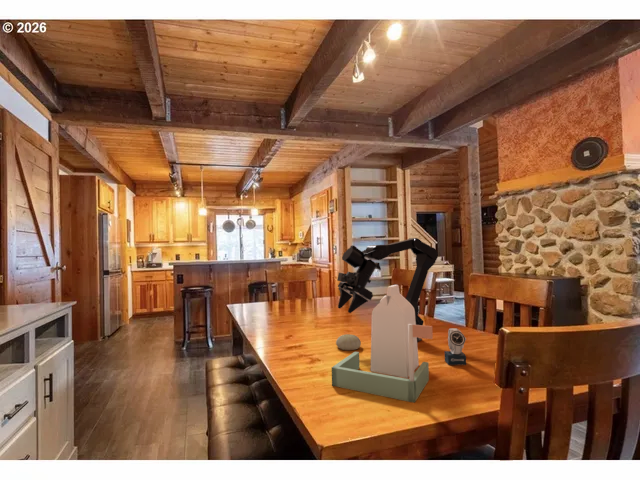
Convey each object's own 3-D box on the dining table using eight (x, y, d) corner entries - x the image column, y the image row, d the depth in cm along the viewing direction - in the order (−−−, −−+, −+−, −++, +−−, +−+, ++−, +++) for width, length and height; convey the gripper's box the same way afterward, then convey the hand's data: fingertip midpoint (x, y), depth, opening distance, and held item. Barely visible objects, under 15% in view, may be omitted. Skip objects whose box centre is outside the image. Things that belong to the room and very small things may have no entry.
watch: (450, 367, 109) (449, 332, 109) (443, 358, 117) (442, 326, 117) (468, 367, 108) (467, 332, 108) (460, 358, 116) (459, 326, 116)
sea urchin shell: (362, 346, 126) (346, 330, 127) (347, 361, 127) (331, 345, 128) (364, 340, 135) (349, 325, 136) (350, 353, 136) (335, 338, 137)
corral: (355, 367, 110) (353, 307, 111) (445, 382, 97) (443, 314, 97) (331, 385, 96) (330, 317, 97) (433, 406, 83) (431, 327, 83)
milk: (407, 378, 101) (404, 288, 101) (370, 371, 107) (368, 287, 107) (418, 365, 111) (416, 284, 111) (384, 359, 117) (383, 283, 117)
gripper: (337, 261, 138) (317, 296, 135) (358, 264, 120) (336, 303, 117) (358, 276, 141) (340, 309, 138) (382, 280, 124) (361, 319, 121)
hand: (343, 310), depth 128 cm, fingers open, 9 cm apart
